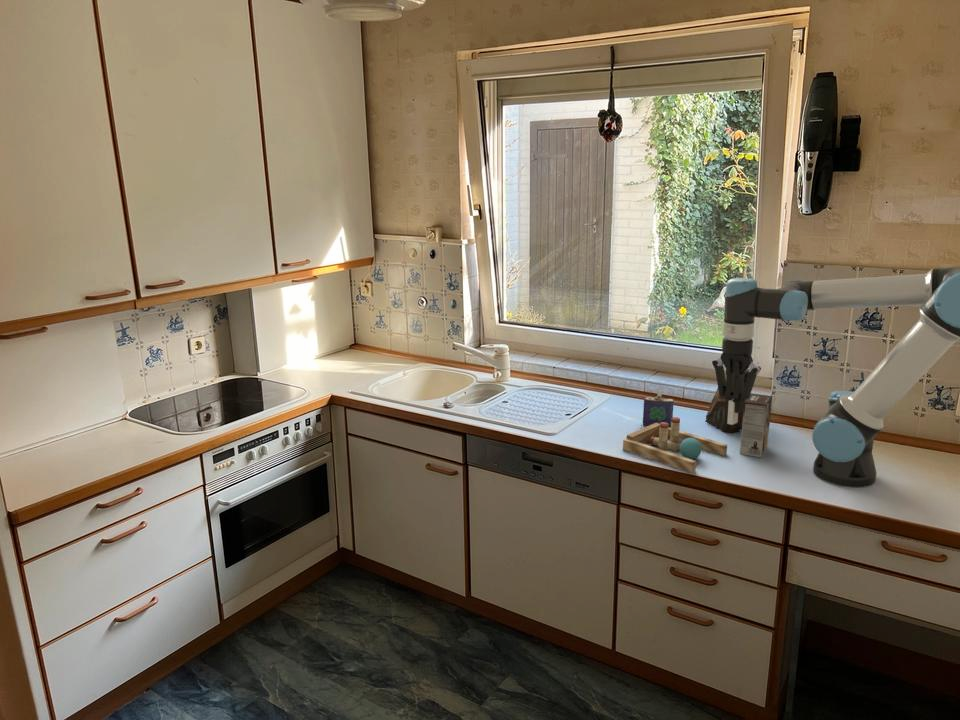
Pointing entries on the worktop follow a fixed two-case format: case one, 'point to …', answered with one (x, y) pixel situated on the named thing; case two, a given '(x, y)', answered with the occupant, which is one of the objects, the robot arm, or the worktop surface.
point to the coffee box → (755, 425)
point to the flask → (657, 410)
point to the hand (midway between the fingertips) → (732, 422)
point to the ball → (690, 448)
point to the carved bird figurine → (724, 413)
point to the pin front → (670, 445)
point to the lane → (642, 436)
